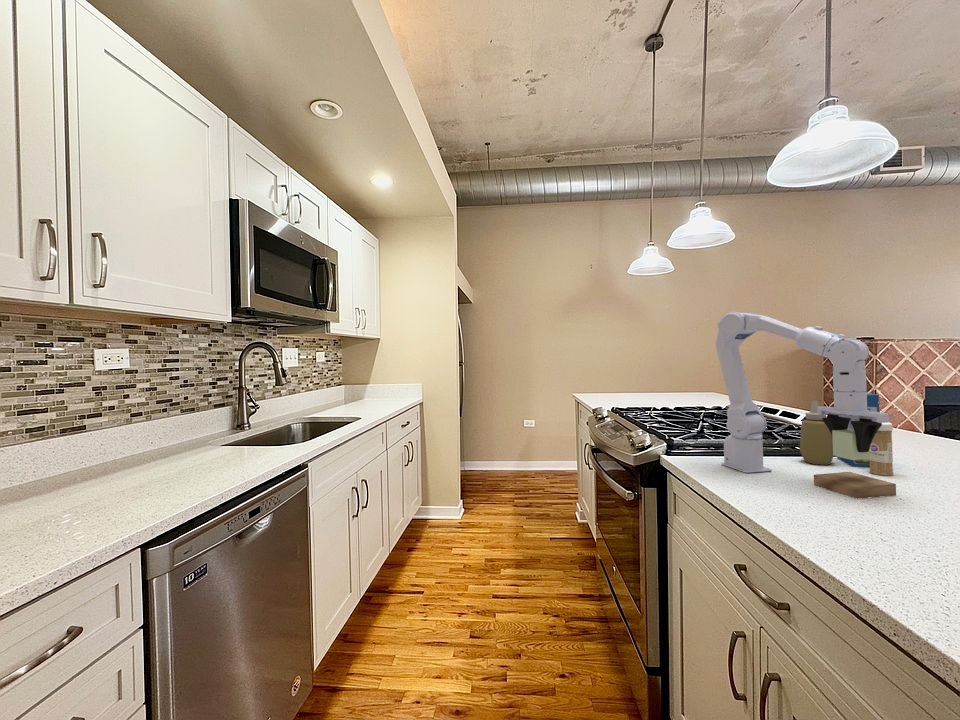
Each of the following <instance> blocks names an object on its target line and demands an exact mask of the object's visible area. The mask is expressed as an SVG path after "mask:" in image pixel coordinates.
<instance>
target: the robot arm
mask: <svg viewBox="0 0 960 720" xmlns="http://www.w3.org/2000/svg"><path fill="white" fill-rule="evenodd" d="M717 328H718V331H717V337H716V340H715V349H716V353H717V357H718V360H719V364H720V368H721V372H722V376H723V380H724V384H725V388H726V392H727V395H728V399H729V402H730V403H729V406H728V409H727V410H726V415H727V420H726V424H725V425H726V429H727V432H728V433H730V434H729V435H728V436H726V437H725V438H724V442H723V455H724V456H723V457H724V458H723V460H724V461H723V462H721V465H723V466H725V467H728V468H731V469H734V470H736V471H739V472H742V473H745V474H747V473H763V472H764V473H765V472H772V471H773V470H772V468H769V467H766V466H764V447H763V445H764V444H763V442H764V441H763V433H764V431H766V429H767V425H768V422H767V419H766V418H765V416H764V415H763V414H762V413H761V410H760V407H759V406H758V405H757V404H756V403H755V402H754V400H753V398H752V394H751V391H750V386H749V383H748V379H747V375H746V371H745V367H744V364H743V360H742V356H741V353H740V349H739V348H740V346H741V345H742V344H743V342H744V341H745V340H747V339H748V338H749V337H750V336H752V335H754V334H755V333H756V332H767V333H770V334H773V335H775V336H780V337H783V338H785V339H788V340H792V341H794V342H795V344H796V345H797V348H799V349H801V350H805V351H807V352H810V353H812V354H815V355H818V356H821V357H822V358H823V357H824V358H828V359H829V361H831V362H832V377H833V378H832V379H833V382H832V383H833V406H826V405H825V406H819V407H817V410H818V414H819V415H826V418H822V420H823V422H824V423H825V424H826V426H827V427H828V429H829V431H830V433H831V435H832V430H847V429H848V425H849V422H850V419H851V418H852V419H859V421H851V424H852V426H853V429H854V431H855V435H856V445H857V450H858V452H869V448H870V445H871V442H872V440H873V437H874V435H875V434H876V432H877V431H878V429H879V428H880V427H881V426H882V423H890V416H889V415H890V414H889V413H886V412H880V411H879V412H874V411H869V410H867V393H868V391H867V387H868V386H867V371H866V360H867V359H868V357H869V355H870V348H869V347H868V345H867V344H866V343H865V342H863V341H861V340H859V339H857V338H849V339H846V336H847V335H846V334H842V333H841V334H840V333H839V334H835V333H832V332H829V331H827V330H824V327H823V326H820V325H816V326H807V327H804V328H800V327H797V326H795V325H792V324H789V323H786V322H783V321H780V320H778V319H775V318H772V317H770V316H766V315H762V314H756V313H753V312H738V311H730V312H727V313H725V314H724V315H723V316H722V318H721V319H720V320H719V322H717ZM841 414H844V415H841ZM848 415H856V416H857V417H856V416H848ZM832 437H833V436H832Z"/></svg>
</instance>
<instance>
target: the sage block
mask: <svg viewBox="0 0 960 720" xmlns="http://www.w3.org/2000/svg"><path fill="white" fill-rule="evenodd" d="M832 436H833V457H836V458H837V457H841V458H845V459H850V460H862V459H870V448H869V452H858V450H857V445H856V435H855V431H854V430H850V429H847V430H832Z"/></svg>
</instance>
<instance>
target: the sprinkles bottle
mask: <svg viewBox="0 0 960 720" xmlns="http://www.w3.org/2000/svg"><path fill="white" fill-rule="evenodd" d="M893 429H894V428H893V423H892V422H889V423H882V426H881V427H880V428H879V429H878V431H877V432H876V434H875V435H874V437H873V440H872V442H871V445H870V468H869V473H871V474H874V475H876V476H877V475H878V476H886V477H889V476H893V475H894V470H893V467H894V466H893V462H894V460H893V459H894V458H893V457H894V456H893V454H894V452H893V439H892V438H893V437H892V436H893V434H892V433H893Z"/></svg>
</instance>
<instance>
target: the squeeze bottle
mask: <svg viewBox="0 0 960 720" xmlns="http://www.w3.org/2000/svg"><path fill="white" fill-rule="evenodd" d="M817 407H820V404H819V401H818V400H812V402H811V406H810V410H809V412H805V419H804V420H801V426H800V437H799V438H800V439H799V449H798V450H799V453H800V454H801V456H802V459H803V461H804V462H806V463H809V464H812V465H818V464H820V465H821V466H827V465H830V464H831V463H832V461H833V458H834V456H833V437H832V435H831V433H830V431H829V429H828V427H827V426H826V424H825V423H824V422H823V420H822V418H826V417H827V415H819V414H818V410H817ZM820 465H819V466H820Z"/></svg>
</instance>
